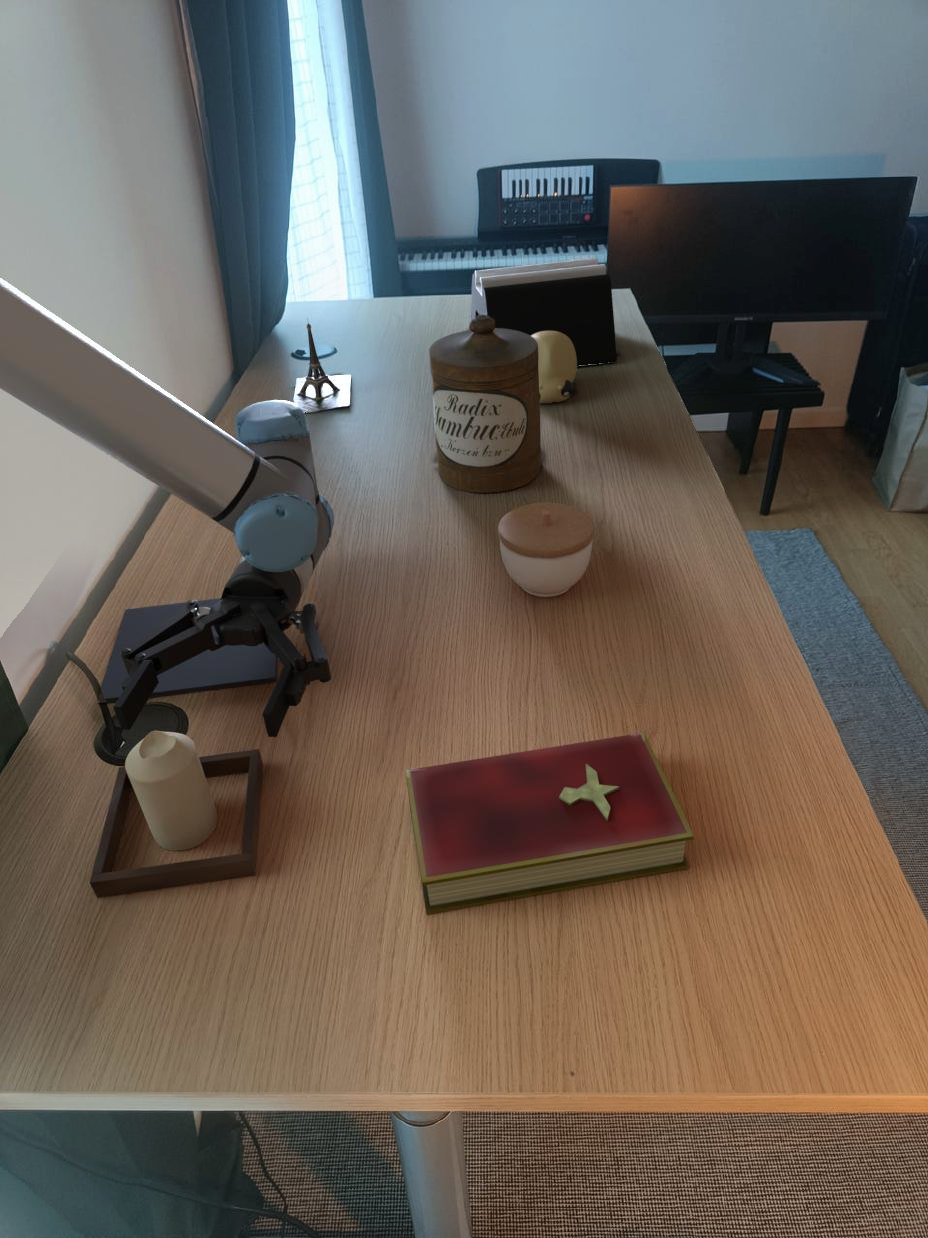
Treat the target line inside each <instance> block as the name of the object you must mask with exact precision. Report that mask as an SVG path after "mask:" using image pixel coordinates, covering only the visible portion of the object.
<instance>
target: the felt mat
mask: <svg viewBox="0 0 928 1238" xmlns="http://www.w3.org/2000/svg"><path fill="white" fill-rule="evenodd" d="M220 600H221V597H219V598H209V599H203V600H196V601H197V603H198V607H204V608H211V607H212V606H214V605H215V604H217V603H218V602H219V601H220ZM186 602H187V601H185V602H177V603H169V604H159V605H151V606H142V607H135V608H126V609H125V610H124V612H123V616H122V619H121V622H120V625H119V628H118V631H117V635H116V638H115V641H114V645H113V647H112V651H111V654H110V657H109V661H108V664H107V666H106V670H105V674H104V677H103V679H102V683H101V686H100V689H102V692H103V695H104V698H105V700H106V702H107V703H106V704H112V703H116V702H117V700H118V699H119V697H120V696H121V694H122V692H123V689H122V682H123V681H124V679H125V678H126V676H127V675H128V672H127V670H126V667H125V664H124V662H123V659H122V656H121V654H120V652H121V650H122V649H124V648H125V647H127V646H128V645H130V644H131V643H133V642H134V641H136V640H137V639H139V638H140V637H142V636H143V635H145V634H146V633H148V632H149V631H151V630H152V629H154V628H155V627H156V626H158V625H159V624H161V623H162V622H164V621H165V620H167V619H168V618H170V617H171V616H173V615H174V614H176V613H177V612H178V611H179V610H180V609H181V608H182V607H183V605H184V604H185V603H186ZM211 629H212V632H213V636H214V638H216V637H218V634H217V633H216V631H215V629H214V627H213V626H212V627H211ZM152 663H153V662H152ZM277 671H278V658H277V657H276V655H275V654H274V653H271V652H270V650H269V649H268V648H267V647H266V645H265V644H264V643H262V644H258V645H257V647H256V646H246V645H236V646H229V645H225V646H223V647H221V648H219V649H217V650H215V651H211V650H206V651H204V652H202V653H200V654H198V655H197V656H195V657H193V658H191V659H189V660H187V661H185V662H183V663H181V664H179V665H177V666H175V667H173V668H171V669H169V670H167V671H165V672H163V673H161V674H159V675H157V678H158V681H159V683H158V685H157V686H156V688H155V690H154V691H153V693H152V694H151V696H150V698H158V697H166V696H173V695H174V696H175V695H181V694H182V695H183V694H189V693H196V692H197V693H199V692H206V691H213V690H222V689H229V688H238V687H243V686H244V687H245V686H251V685H261V684H267V683H268V684H269V683H276V682H277ZM150 698H149V699H150Z"/></svg>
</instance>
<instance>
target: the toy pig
mask: <svg viewBox="0 0 928 1238" xmlns="http://www.w3.org/2000/svg"><path fill="white" fill-rule="evenodd" d="M531 336H532V337H533V338H534V339H535V340H536V341H537V344H538V371H539V398H540V404H553V403H552V402H556V403H561V402H564V401H566V400H567V399H569V398H570V397H571V396H572V394H573V392H574V384H573V383H574V381H575V378H576V377H577V376H576V375H577V370H578V367H577V357H576V352H575V348H574V346H573V343H572V341H571V340H570V339H569V338H568V337H567V336H566V335H565V334H563V333H560V332H557V331H541V332H537V333H535V334H533V335H531ZM560 401H561V402H560Z"/></svg>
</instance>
